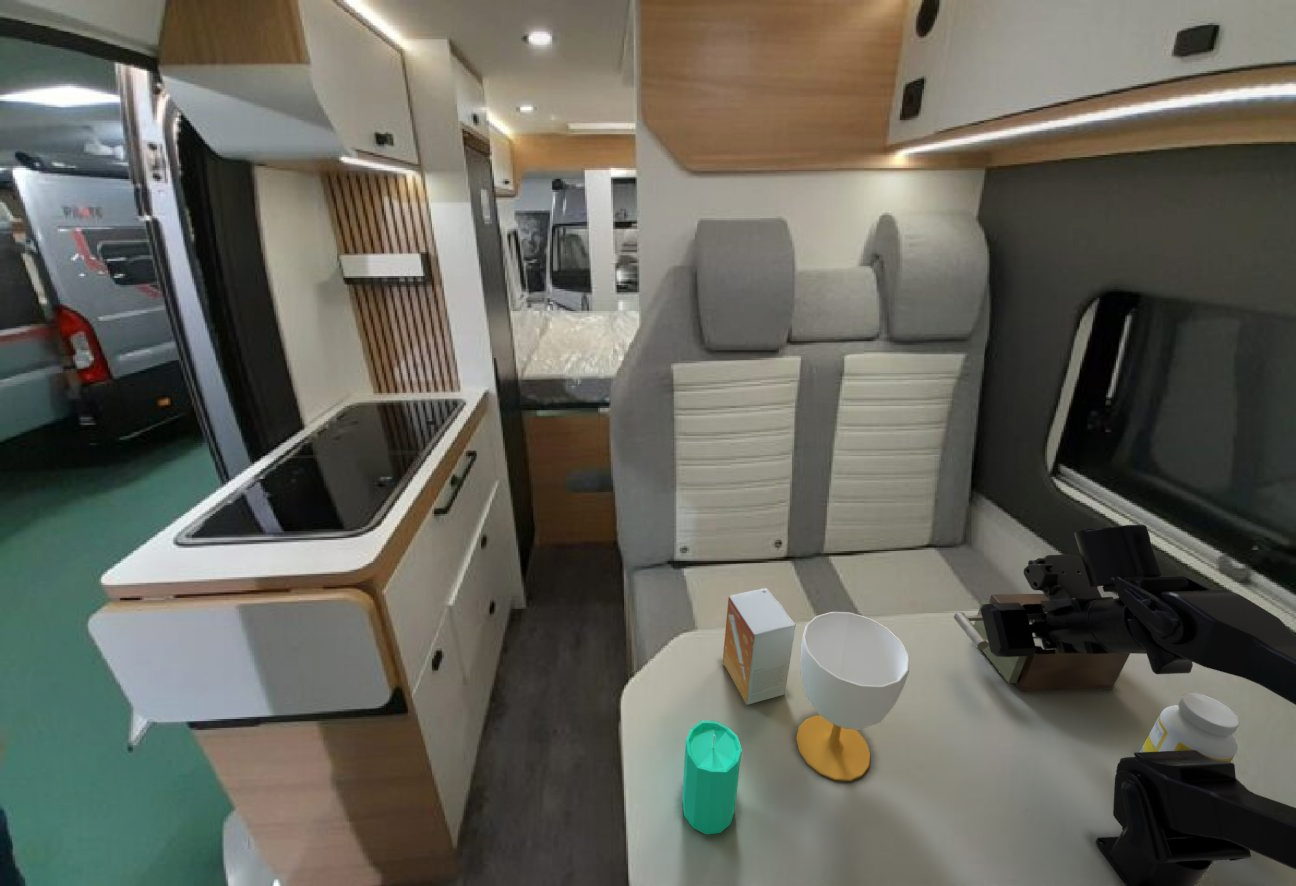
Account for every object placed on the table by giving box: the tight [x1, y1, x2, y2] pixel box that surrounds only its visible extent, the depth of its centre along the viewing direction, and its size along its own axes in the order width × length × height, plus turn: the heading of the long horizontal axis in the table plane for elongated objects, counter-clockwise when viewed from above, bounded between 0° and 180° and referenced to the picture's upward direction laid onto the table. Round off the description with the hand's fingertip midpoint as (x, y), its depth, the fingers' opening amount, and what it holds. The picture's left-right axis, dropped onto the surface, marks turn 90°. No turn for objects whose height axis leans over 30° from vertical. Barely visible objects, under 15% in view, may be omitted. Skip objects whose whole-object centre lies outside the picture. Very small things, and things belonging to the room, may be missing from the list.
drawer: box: [953, 601, 1029, 684], centre depth 80 cm, size 18×9×7 cm, turn 92°
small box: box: [722, 587, 797, 706], centre depth 76 cm, size 8×6×13 cm
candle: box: [681, 720, 743, 835], centre depth 59 cm, size 6×6×12 cm
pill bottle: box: [1139, 692, 1240, 763], centre depth 63 cm, size 6×6×12 cm
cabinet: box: [988, 593, 1131, 692], centre depth 80 cm, size 14×11×9 cm
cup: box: [795, 611, 910, 782], centre depth 65 cm, size 12×12×17 cm
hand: (1016, 629), depth 74 cm, fingers closed
